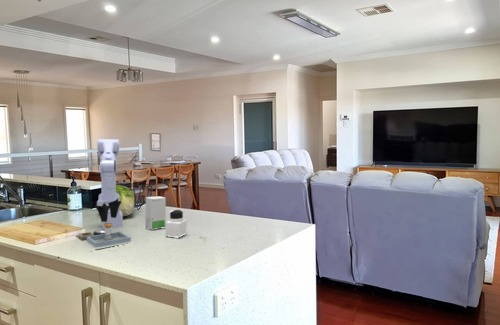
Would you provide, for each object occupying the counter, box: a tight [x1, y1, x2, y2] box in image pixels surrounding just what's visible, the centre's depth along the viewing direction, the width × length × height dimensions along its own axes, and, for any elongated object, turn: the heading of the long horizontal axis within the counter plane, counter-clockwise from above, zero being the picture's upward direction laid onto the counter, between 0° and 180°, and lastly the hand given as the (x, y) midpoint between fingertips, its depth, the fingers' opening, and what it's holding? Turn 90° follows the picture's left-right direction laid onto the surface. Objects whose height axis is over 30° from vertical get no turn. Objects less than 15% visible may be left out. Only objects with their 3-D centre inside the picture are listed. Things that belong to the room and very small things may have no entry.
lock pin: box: [104, 223, 112, 241], centre depth 165 cm, size 3×3×8 cm
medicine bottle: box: [165, 209, 187, 236], centre depth 179 cm, size 7×7×12 cm
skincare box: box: [144, 195, 167, 230], centre depth 192 cm, size 8×7×16 cm
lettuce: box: [116, 184, 136, 218], centre depth 218 cm, size 18×23×19 cm
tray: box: [86, 231, 132, 251], centre depth 165 cm, size 15×12×3 cm
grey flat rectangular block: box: [75, 228, 105, 242], centre depth 173 cm, size 14×10×3 cm
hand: (109, 219), depth 166 cm, fingers open, 7 cm apart
